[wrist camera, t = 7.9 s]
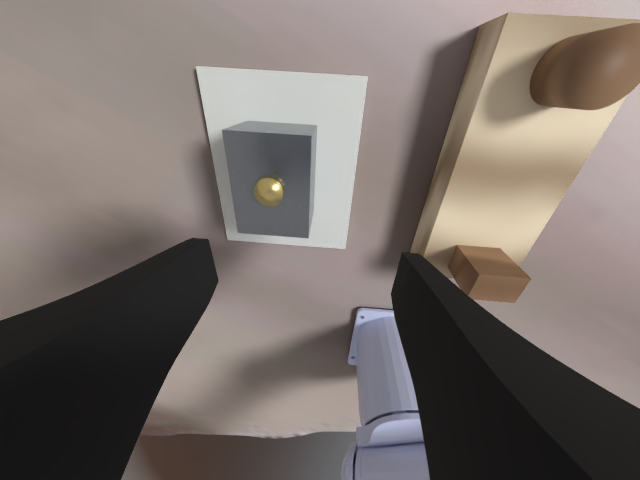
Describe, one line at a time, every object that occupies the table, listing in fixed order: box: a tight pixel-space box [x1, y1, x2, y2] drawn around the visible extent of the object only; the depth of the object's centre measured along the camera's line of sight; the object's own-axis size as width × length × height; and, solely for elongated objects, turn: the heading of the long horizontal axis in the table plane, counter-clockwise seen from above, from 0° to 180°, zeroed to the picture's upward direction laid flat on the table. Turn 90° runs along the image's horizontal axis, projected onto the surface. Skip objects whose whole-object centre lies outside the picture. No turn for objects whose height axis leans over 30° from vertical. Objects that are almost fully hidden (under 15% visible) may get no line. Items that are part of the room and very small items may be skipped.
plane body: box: [410, 13, 640, 303], centre depth 14 cm, size 15×7×6 cm, turn 177°
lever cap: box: [222, 121, 317, 238], centre depth 15 cm, size 6×4×4 cm
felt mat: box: [196, 66, 368, 249], centre depth 17 cm, size 12×10×1 cm
